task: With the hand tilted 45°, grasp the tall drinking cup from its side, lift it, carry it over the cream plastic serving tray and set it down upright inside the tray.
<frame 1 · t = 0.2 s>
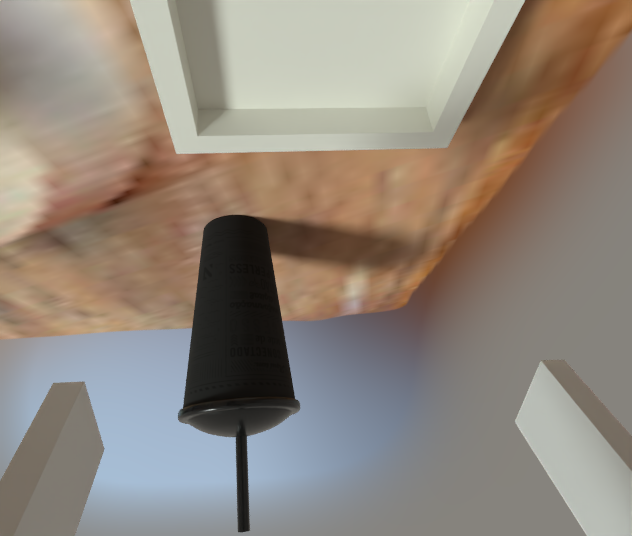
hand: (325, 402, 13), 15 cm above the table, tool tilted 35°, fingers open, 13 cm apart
drinking cup: (235, 229, 33), on the table
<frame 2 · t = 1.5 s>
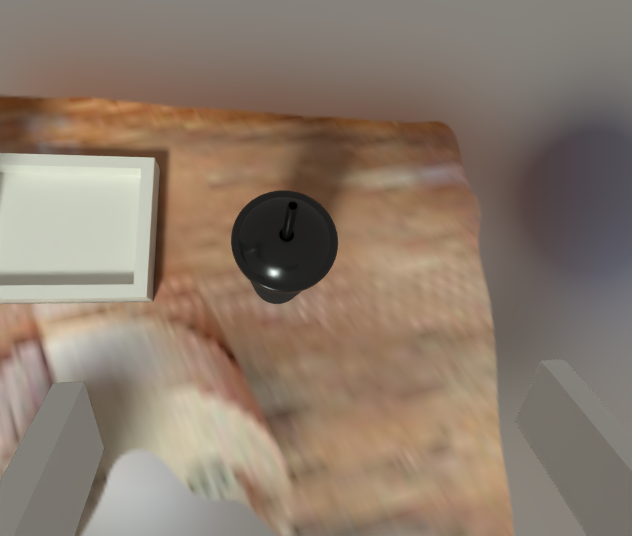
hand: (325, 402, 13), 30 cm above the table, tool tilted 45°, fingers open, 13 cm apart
drinking cup: (276, 280, 44), on the table
tray: (71, 232, 42), on the table
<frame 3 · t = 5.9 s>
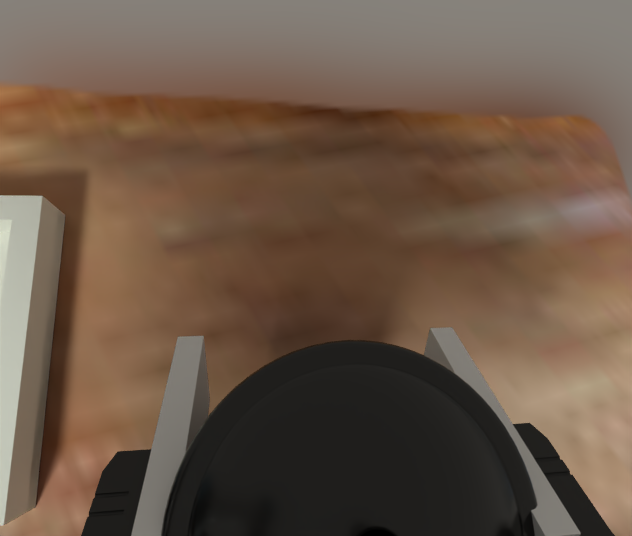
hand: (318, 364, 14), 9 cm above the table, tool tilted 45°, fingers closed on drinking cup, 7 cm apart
drinking cup: (299, 441, 22), on the table, touching gripper
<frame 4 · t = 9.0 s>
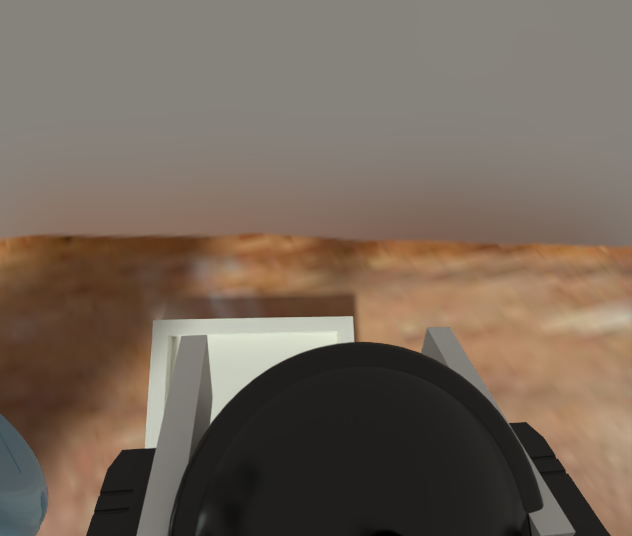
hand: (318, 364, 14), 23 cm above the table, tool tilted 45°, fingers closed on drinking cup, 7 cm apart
drinking cup: (299, 442, 22), point 14 cm above the table, touching gripper
tray: (256, 407, 35), on the table
when the fingers open (11 cm above the table, at t = 11.9 s): drinking cup drops 2 cm, resting on tray.
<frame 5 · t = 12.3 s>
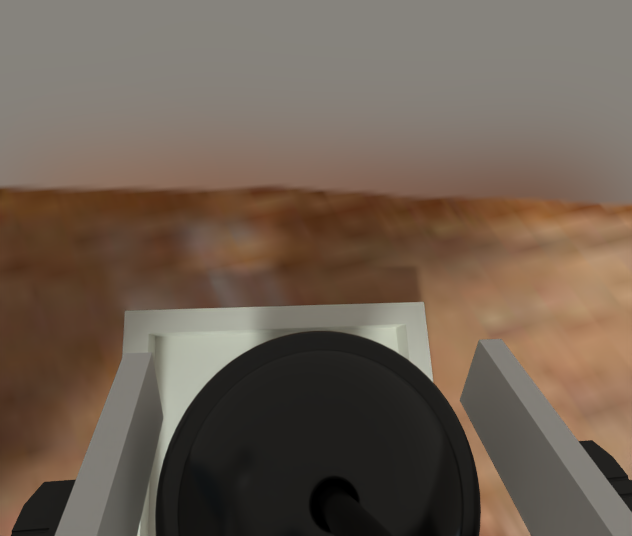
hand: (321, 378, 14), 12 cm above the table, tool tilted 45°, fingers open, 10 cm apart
drinking cup: (285, 444, 23), point 1 cm above the table, touching tray
tray: (283, 439, 24), on the table
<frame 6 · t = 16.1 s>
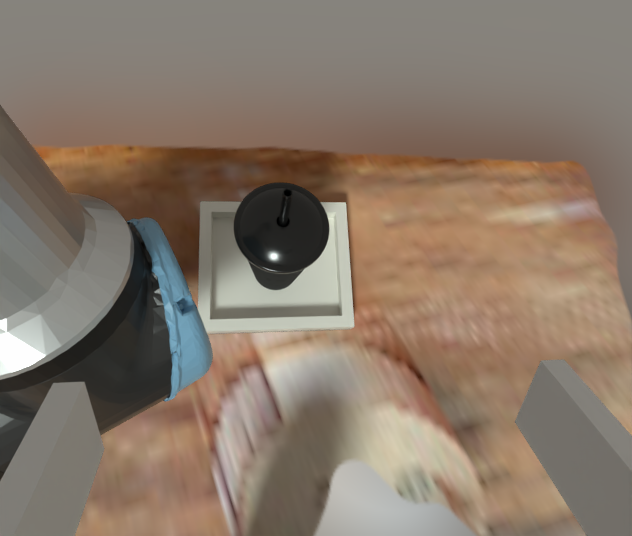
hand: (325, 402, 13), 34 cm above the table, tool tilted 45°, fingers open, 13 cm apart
drinking cup: (275, 269, 48), point 1 cm above the table, touching tray
tray: (275, 268, 48), on the table
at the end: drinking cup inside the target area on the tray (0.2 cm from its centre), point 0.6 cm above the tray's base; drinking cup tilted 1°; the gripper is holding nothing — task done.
